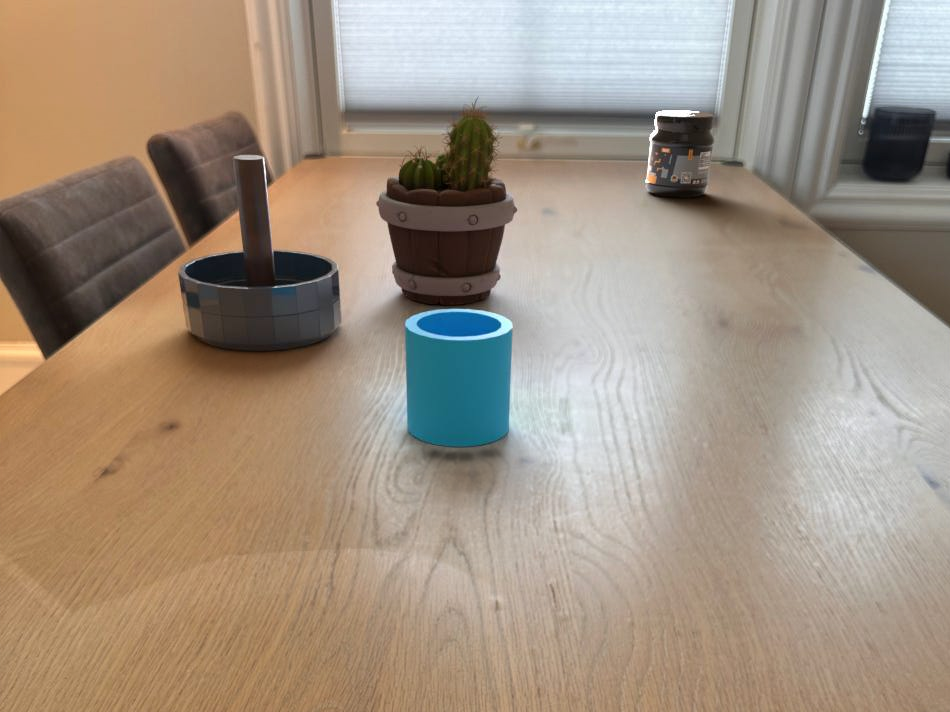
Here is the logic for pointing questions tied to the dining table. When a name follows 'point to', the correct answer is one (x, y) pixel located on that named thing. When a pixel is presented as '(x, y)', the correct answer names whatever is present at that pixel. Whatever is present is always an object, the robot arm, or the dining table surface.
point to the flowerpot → (449, 217)
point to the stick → (254, 220)
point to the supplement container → (680, 154)
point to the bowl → (261, 301)
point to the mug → (458, 376)
